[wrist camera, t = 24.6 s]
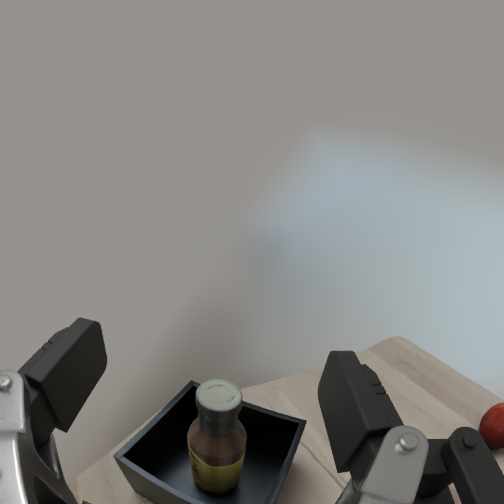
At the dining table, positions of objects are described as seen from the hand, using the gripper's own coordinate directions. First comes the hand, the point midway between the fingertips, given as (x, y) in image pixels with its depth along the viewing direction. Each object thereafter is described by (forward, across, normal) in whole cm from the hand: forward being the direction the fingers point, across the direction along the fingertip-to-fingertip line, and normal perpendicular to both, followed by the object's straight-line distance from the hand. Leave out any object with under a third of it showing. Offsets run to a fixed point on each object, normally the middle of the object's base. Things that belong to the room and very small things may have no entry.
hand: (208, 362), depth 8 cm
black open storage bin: (+10, 0, +32) cm, 34 cm away
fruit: (+7, -53, +32) cm, 62 cm away
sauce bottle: (+10, 0, +31) cm, 33 cm away
